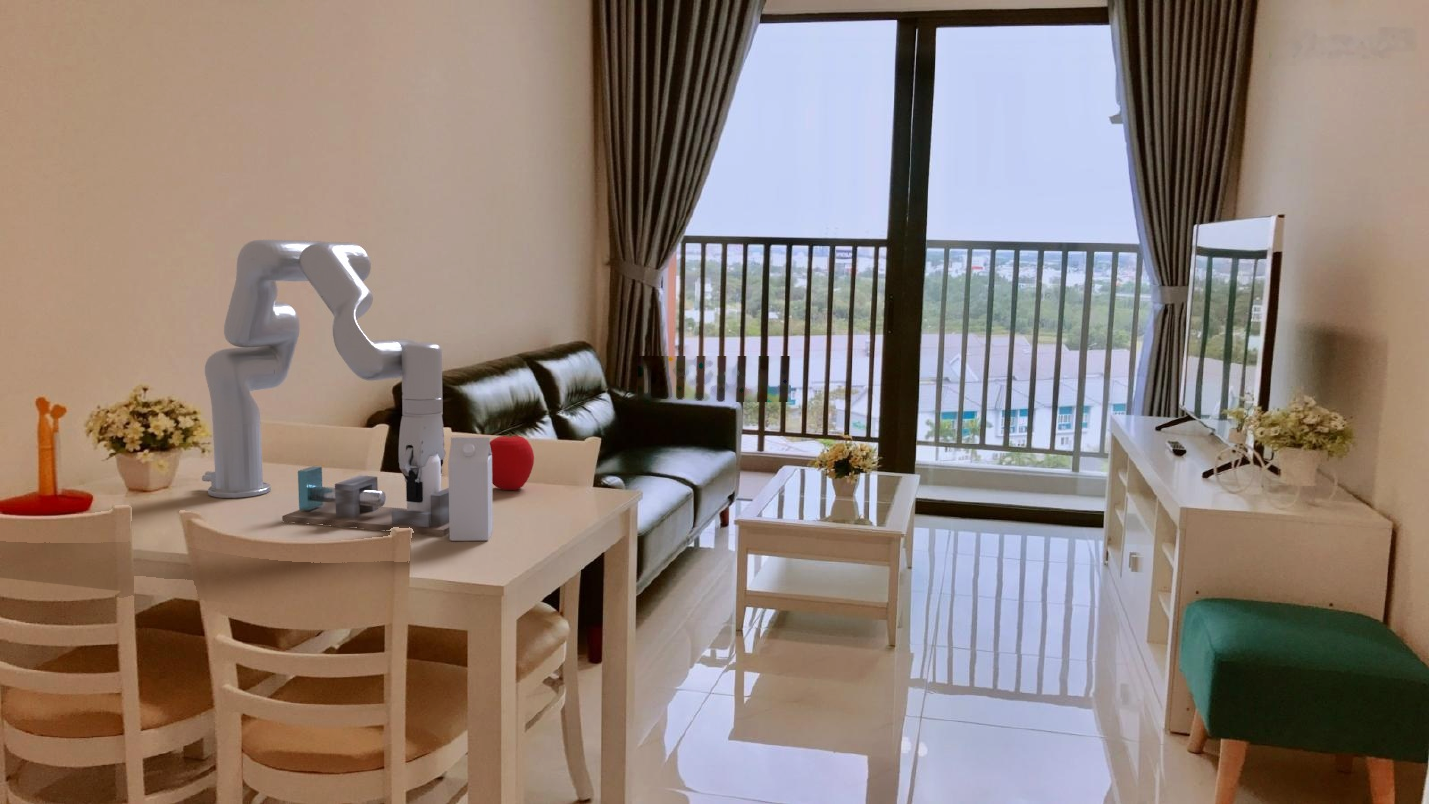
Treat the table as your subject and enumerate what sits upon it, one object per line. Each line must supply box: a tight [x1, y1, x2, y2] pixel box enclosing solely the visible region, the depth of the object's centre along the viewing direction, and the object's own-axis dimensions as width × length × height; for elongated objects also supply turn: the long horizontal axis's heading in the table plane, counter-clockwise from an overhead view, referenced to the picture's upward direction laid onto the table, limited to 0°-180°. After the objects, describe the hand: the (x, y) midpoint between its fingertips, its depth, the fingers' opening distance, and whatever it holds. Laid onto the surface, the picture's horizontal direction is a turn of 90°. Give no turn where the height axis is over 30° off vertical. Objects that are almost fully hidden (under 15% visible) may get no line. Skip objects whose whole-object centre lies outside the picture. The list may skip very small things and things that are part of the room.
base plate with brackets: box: [281, 475, 450, 537], centre depth 216 cm, size 35×13×8 cm, turn 75°
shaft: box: [297, 466, 387, 511], centre depth 218 cm, size 17×5×8 cm, turn 75°
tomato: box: [490, 432, 535, 491], centre depth 246 cm, size 11×11×13 cm
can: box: [406, 452, 442, 512], centre depth 213 cm, size 6×6×12 cm
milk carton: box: [447, 436, 494, 542], centre depth 205 cm, size 7×7×19 cm
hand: (424, 497), depth 213 cm, fingers closed on can, 6 cm apart
